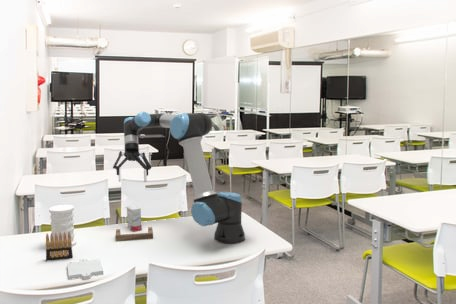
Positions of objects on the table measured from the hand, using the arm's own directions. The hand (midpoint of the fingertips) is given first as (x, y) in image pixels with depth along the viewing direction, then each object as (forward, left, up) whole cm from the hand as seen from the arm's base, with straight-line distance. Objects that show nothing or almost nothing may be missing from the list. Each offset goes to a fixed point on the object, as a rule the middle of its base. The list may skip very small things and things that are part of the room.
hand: (132, 181), depth 229 cm
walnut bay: (-16, 0, -25) cm, 30 cm away
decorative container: (-21, +33, -25) cm, 47 cm away
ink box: (-4, 0, -25) cm, 25 cm away
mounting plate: (-54, +20, -25) cm, 63 cm away
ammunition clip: (-39, +32, -25) cm, 57 cm away
